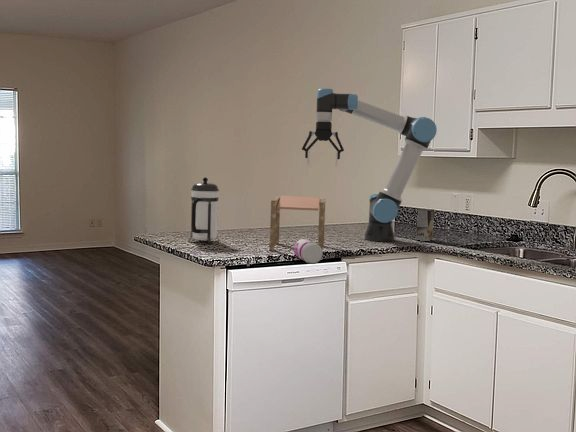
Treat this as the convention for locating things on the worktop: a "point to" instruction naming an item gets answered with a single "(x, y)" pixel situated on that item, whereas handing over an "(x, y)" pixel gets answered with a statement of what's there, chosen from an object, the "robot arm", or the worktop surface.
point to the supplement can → (308, 251)
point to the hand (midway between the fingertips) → (322, 165)
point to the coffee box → (425, 224)
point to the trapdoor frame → (276, 223)
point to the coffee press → (204, 211)
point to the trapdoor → (299, 203)
